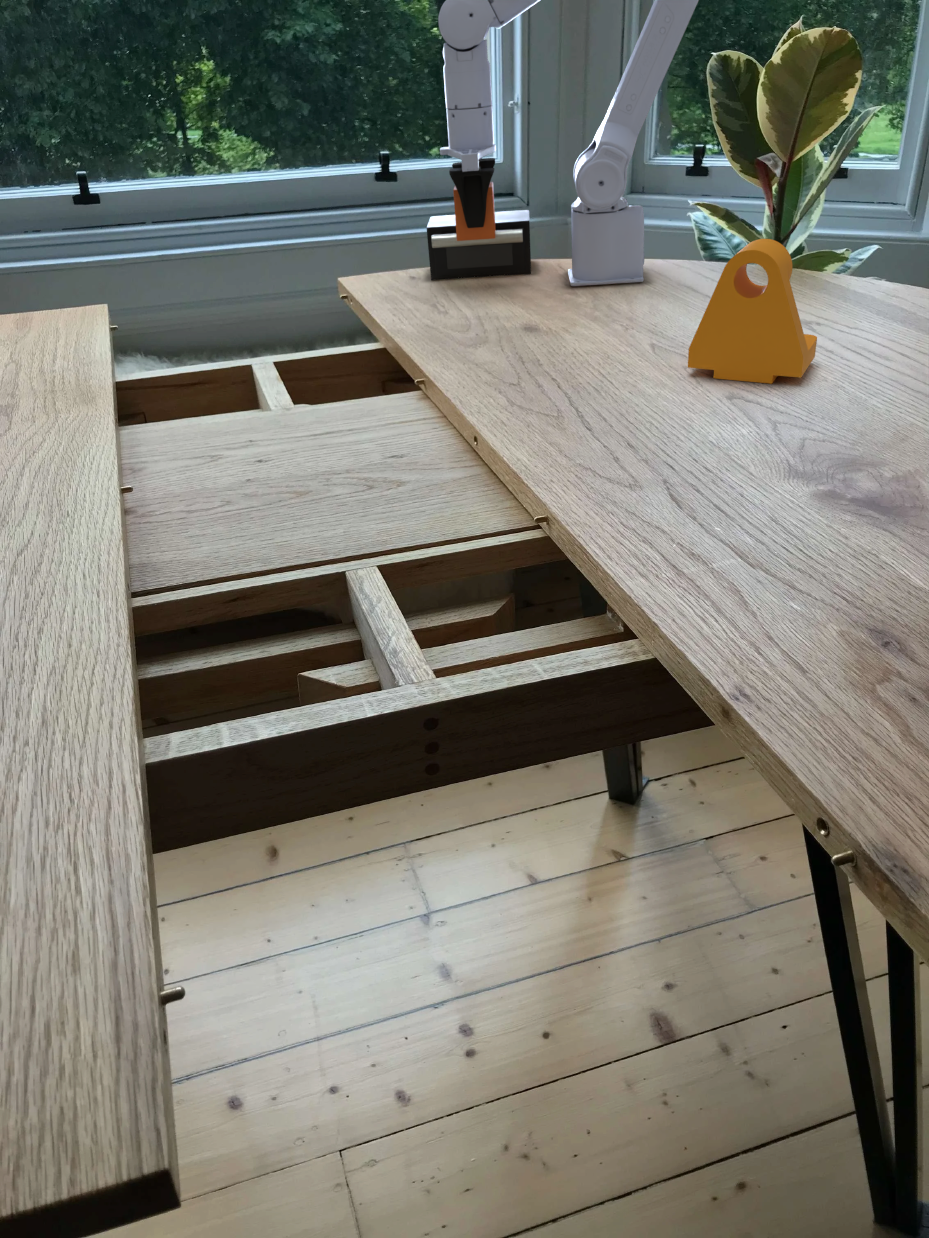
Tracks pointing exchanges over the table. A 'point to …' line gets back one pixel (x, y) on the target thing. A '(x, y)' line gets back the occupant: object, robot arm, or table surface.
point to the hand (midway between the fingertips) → (476, 223)
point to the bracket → (753, 321)
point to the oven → (480, 248)
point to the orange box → (480, 232)
